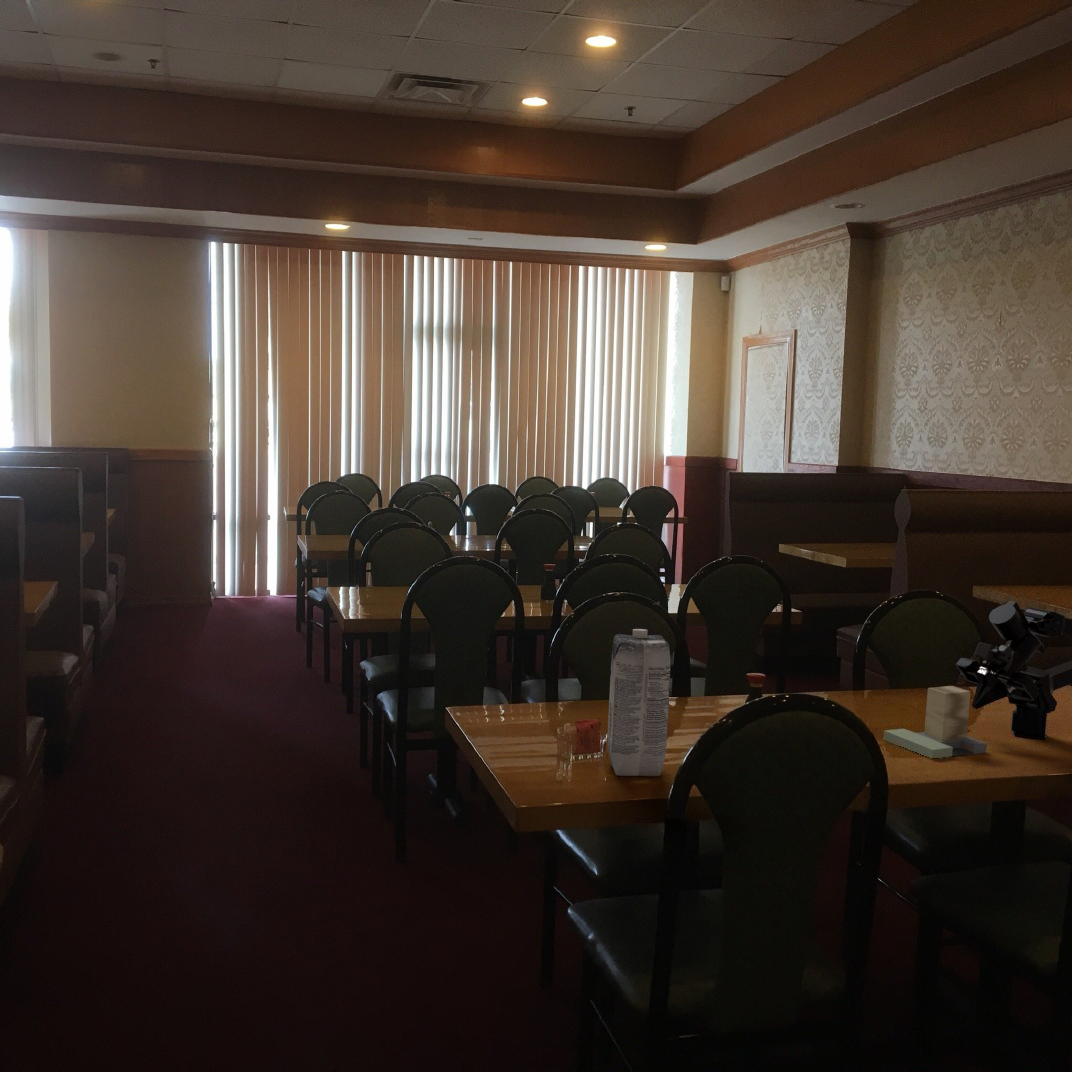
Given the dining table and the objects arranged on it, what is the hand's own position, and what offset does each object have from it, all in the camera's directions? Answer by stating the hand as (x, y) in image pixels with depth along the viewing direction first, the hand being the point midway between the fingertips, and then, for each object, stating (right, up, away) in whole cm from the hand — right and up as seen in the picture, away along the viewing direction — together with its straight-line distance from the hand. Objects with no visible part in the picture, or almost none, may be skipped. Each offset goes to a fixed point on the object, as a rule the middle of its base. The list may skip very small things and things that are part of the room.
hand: (974, 707), depth 235 cm
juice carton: (-76, -8, -27) cm, 81 cm away
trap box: (-10, -8, -4) cm, 13 cm away
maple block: (-7, -6, -3) cm, 9 cm away
